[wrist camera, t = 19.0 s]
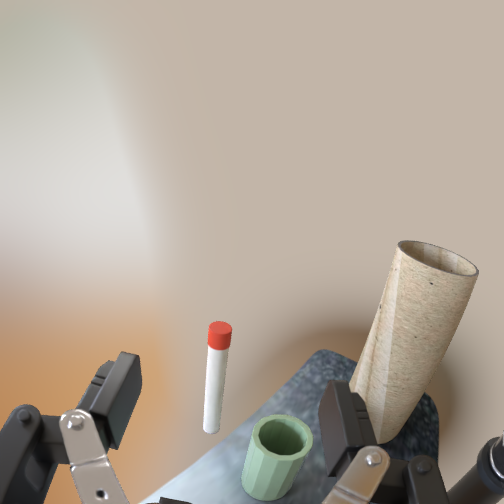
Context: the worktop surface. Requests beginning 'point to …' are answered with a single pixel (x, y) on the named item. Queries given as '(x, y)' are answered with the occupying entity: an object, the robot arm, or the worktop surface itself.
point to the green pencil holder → (275, 456)
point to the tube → (411, 332)
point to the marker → (216, 374)
